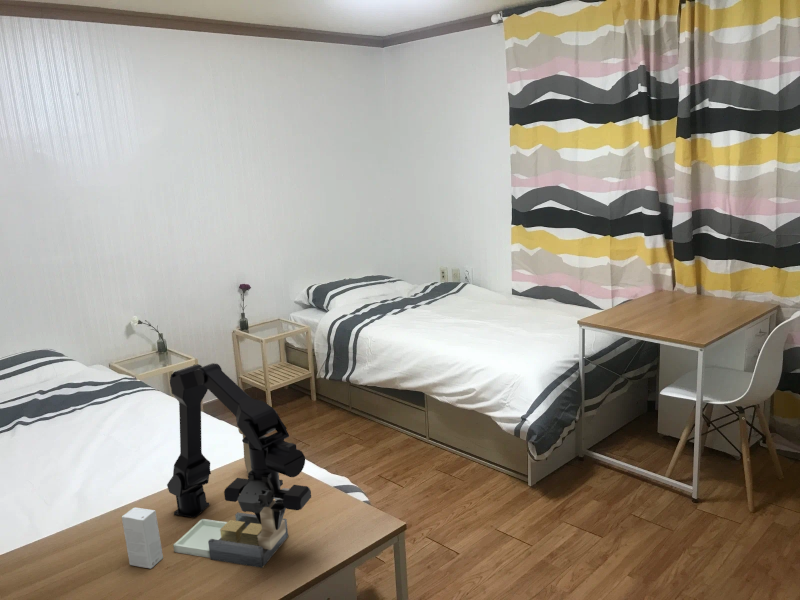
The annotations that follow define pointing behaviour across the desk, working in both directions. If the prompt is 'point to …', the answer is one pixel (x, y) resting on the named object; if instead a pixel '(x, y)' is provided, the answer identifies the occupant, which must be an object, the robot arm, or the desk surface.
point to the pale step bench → (269, 529)
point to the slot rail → (243, 547)
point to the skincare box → (142, 537)
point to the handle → (246, 454)
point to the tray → (199, 538)
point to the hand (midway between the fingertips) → (271, 527)
